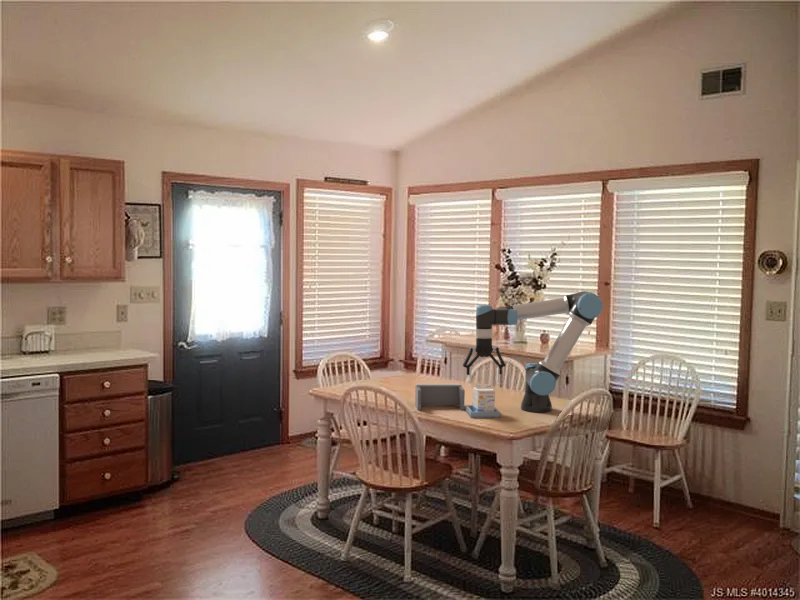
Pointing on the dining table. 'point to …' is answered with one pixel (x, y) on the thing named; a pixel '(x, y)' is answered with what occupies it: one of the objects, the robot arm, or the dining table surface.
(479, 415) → the tray
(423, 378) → the dining table surface
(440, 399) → the bay
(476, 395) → the ink box
